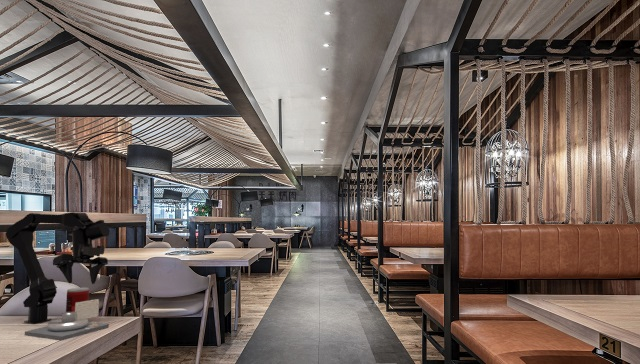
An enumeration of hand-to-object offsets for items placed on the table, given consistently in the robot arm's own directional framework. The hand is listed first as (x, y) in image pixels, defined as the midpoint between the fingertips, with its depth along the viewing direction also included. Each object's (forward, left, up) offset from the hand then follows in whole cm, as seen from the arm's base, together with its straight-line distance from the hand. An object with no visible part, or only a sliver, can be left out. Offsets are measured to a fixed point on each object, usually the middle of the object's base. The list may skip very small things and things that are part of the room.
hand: (82, 283), depth 157 cm
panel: (+3, -7, -15) cm, 17 cm away
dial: (+4, -5, -14) cm, 15 cm away
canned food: (-16, +11, -15) cm, 24 cm away
